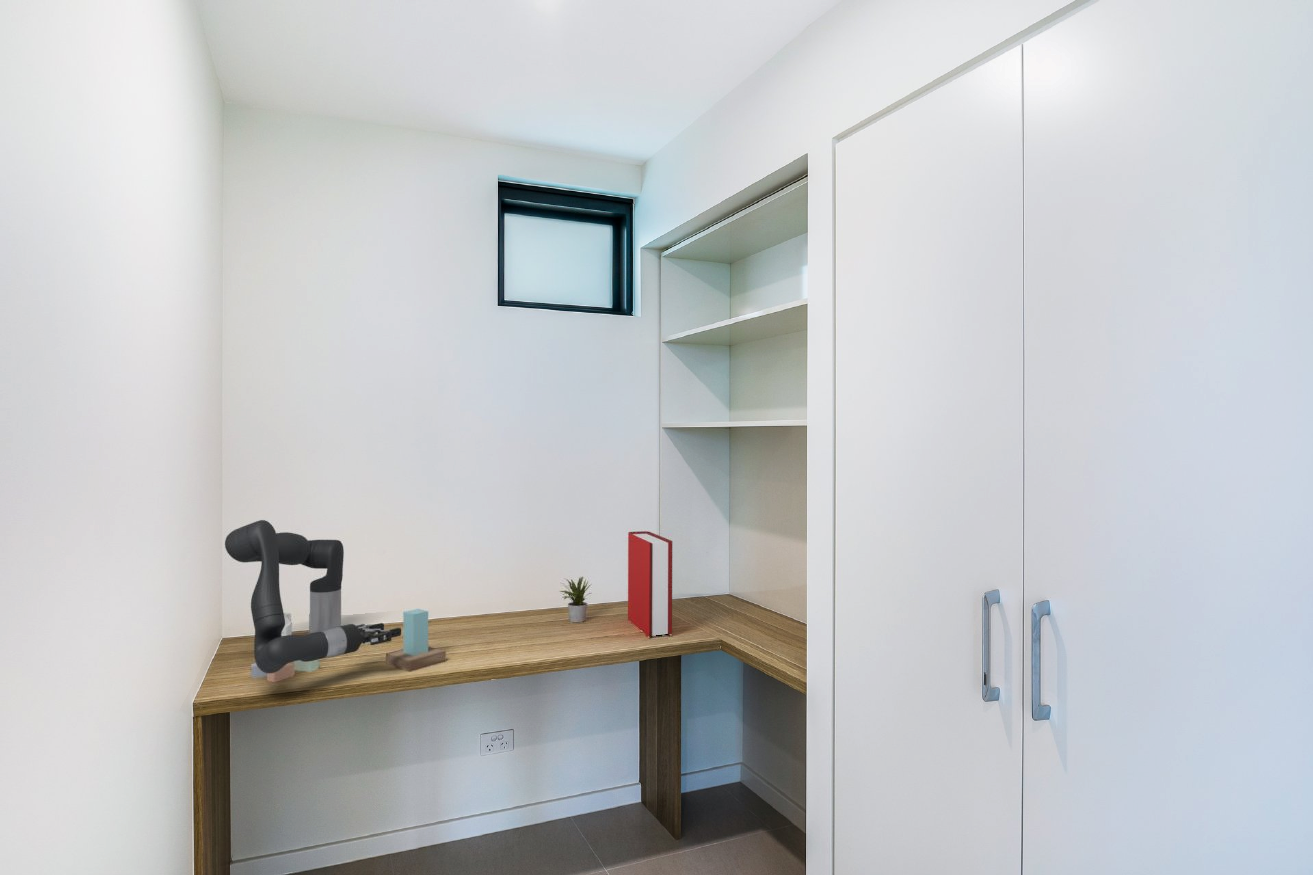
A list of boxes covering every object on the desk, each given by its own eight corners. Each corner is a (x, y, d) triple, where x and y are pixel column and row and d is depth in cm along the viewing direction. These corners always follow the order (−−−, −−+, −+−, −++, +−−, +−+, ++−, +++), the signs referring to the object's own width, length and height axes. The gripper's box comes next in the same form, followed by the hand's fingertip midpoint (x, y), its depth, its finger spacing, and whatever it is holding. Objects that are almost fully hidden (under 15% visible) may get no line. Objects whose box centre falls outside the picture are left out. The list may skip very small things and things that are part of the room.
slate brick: (251, 679, 202) (251, 666, 202) (251, 676, 204) (251, 663, 204) (276, 675, 205) (276, 663, 205) (275, 672, 207) (275, 660, 207)
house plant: (560, 615, 275) (561, 571, 275) (597, 615, 275) (597, 571, 275) (554, 624, 261) (554, 578, 261) (592, 625, 261) (593, 579, 261)
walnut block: (385, 663, 216) (386, 653, 216) (421, 654, 225) (421, 644, 225) (410, 671, 208) (410, 660, 208) (445, 661, 218) (445, 651, 218)
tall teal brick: (403, 652, 216) (403, 611, 216) (418, 648, 220) (418, 608, 220) (413, 655, 213) (413, 614, 213) (428, 651, 217) (428, 611, 217)
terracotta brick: (274, 682, 199) (274, 669, 199) (267, 680, 200) (267, 667, 200) (294, 676, 204) (294, 663, 204) (287, 674, 206) (287, 662, 206)
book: (672, 636, 246) (672, 541, 246) (649, 638, 244) (649, 541, 244) (647, 617, 272) (648, 531, 272) (626, 619, 270) (627, 531, 270)
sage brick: (293, 670, 209) (293, 658, 209) (301, 667, 212) (301, 655, 212) (311, 672, 208) (311, 660, 208) (318, 669, 211) (318, 657, 211)
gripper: (352, 631, 193) (406, 619, 206) (324, 622, 202) (377, 612, 215) (352, 659, 193) (406, 646, 206) (323, 650, 202) (377, 637, 215)
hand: (391, 628), depth 210 cm, fingers open, 8 cm apart
